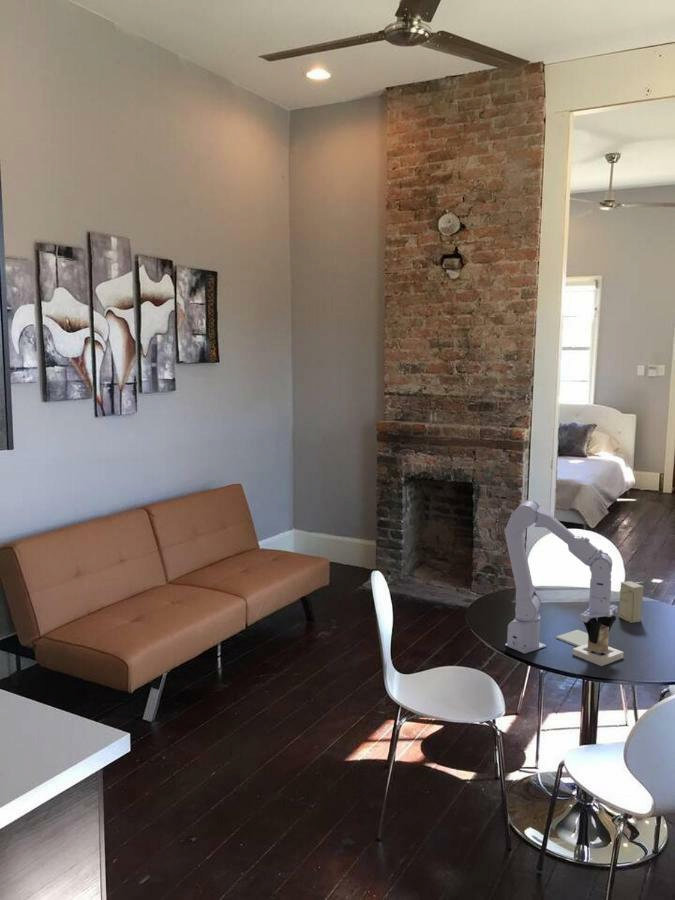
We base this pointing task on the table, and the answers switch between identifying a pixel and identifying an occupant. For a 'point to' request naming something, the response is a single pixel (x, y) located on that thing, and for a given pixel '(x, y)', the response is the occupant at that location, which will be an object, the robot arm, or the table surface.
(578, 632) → the tile
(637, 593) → the skincare box
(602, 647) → the birch block
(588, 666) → the table surface
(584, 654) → the holder
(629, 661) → the table surface
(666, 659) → the table surface
